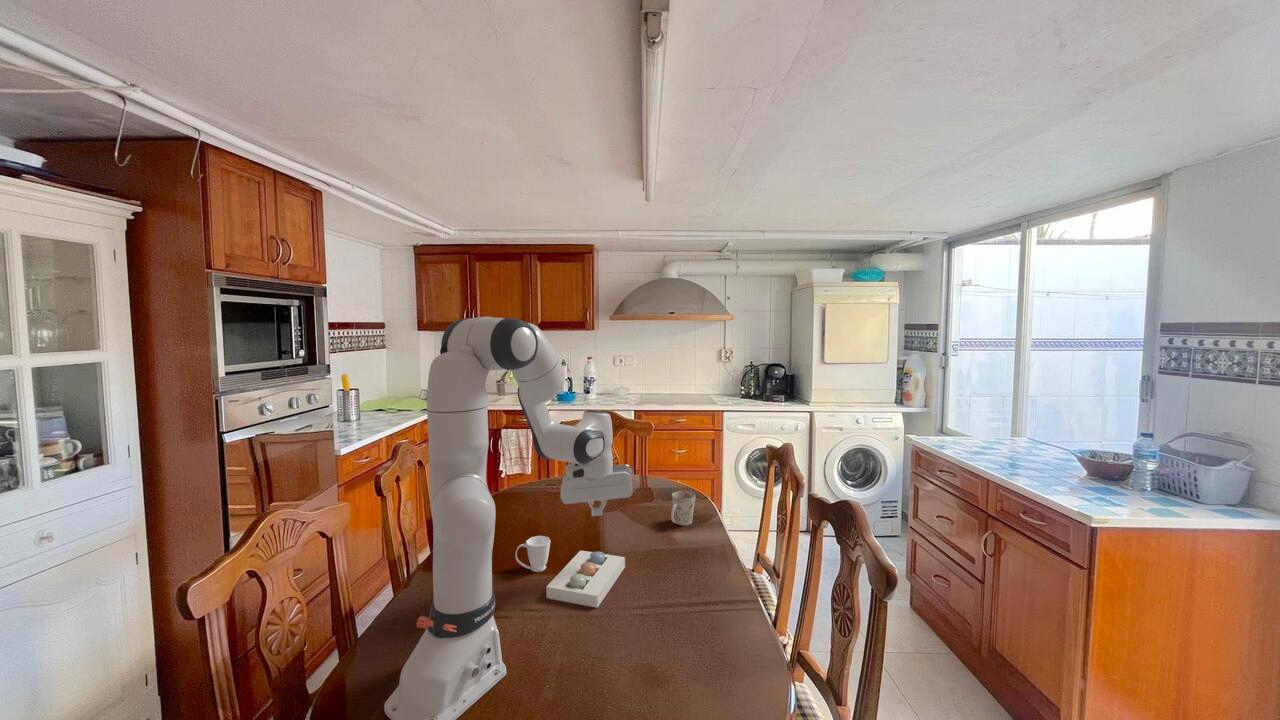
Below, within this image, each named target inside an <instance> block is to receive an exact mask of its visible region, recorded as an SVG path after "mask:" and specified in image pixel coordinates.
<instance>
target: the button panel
mask: <svg viewBox="0 0 1280 720" xmlns="http://www.w3.org/2000/svg"><path fill="white" fill-rule="evenodd" d="M593 552H594V551H589V550H588V551H585V550H579V551H578V552H577V554H576V555H575V556H573V558H571V560H570V561H569V562H567V564H566V565H565V566H564V567H563V568H562V570H561V571H559V573H558V574H556V576H555V577H554V578H553V579H552V580H551V581H550V582H549V583H548V584H547V585H546V589H545V590H546V597H545V598H546V599H547V600H548V599H550V600H555V601H559V602H564V603H571V604H576V605H581V606H586V607H592V608H599V606H600V605H601V603H602V601H603V600H604V599H605V598H606V596H607V594H608V593H609V591H611V588H612V587H613V586H614V584H615V583H616V581H617V580H618V578H619V576H620V575H621V574H622V572H623V571H624V569H625V568H626V557H625V556H621V555H620V556H619V555H611V554H607V553H606V554H605V553H604V563H603V564H602V565H598V564H595V575H594V576H593V577H591V576H586V586H585V587H584V589H583V590H581V589H576V588H570V577H571V576H572V575H574V574H581V564H583V563H585V562H590V554H591V553H593Z"/></svg>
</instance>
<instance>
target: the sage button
mask: <svg viewBox="0 0 1280 720" xmlns="http://www.w3.org/2000/svg"><path fill="white" fill-rule="evenodd" d="M585 586H586V576H585V575H583V574H574V575H572V576H571V577H570V588H576V589H581V590H583V589H584V587H585Z"/></svg>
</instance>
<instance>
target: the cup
mask: <svg viewBox="0 0 1280 720" xmlns="http://www.w3.org/2000/svg"><path fill="white" fill-rule="evenodd" d="M521 547H523V548H526V551H527V556H528V557H527V558H528V560H529V563H530V564H529V565H530V566H529V565H527V564H525V563H523V562H522V561H520V559H519V558H518V550H519V549H520V548H521ZM550 547H551V539H550V538H549V536H543V535H536V536H531V537H530V538H528V539H527V540H526V541H525V543H522V544H519V545H518V546H517V548H516V551H515V555H514V557H515V560H516V562H517V563H518V564H519V565H520V566H522V567H524V568H525V569H528V570H531V571H532V572H534V573H535V572H536V573H540V572H543V571H544V570H546V569H547V563H548V559H549V554H550Z"/></svg>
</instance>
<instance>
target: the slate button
mask: <svg viewBox="0 0 1280 720" xmlns="http://www.w3.org/2000/svg"><path fill="white" fill-rule="evenodd" d="M592 552H593V553H591V554H590V562H592V563H594V564H598V565H602V564H603V563H604V554H605V553H604V552H603V551H592Z"/></svg>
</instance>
